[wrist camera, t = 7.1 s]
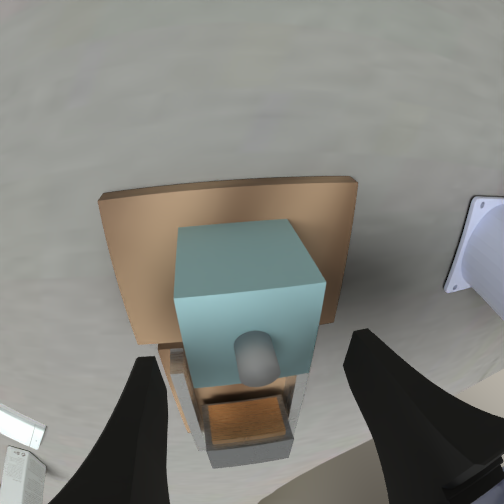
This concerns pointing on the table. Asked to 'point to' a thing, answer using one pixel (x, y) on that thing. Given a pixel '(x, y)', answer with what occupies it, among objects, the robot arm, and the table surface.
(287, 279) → the block
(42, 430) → the hard drive
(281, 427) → the block
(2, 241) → the table surface
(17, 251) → the table surface
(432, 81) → the table surface
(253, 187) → the frame
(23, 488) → the skincare box
